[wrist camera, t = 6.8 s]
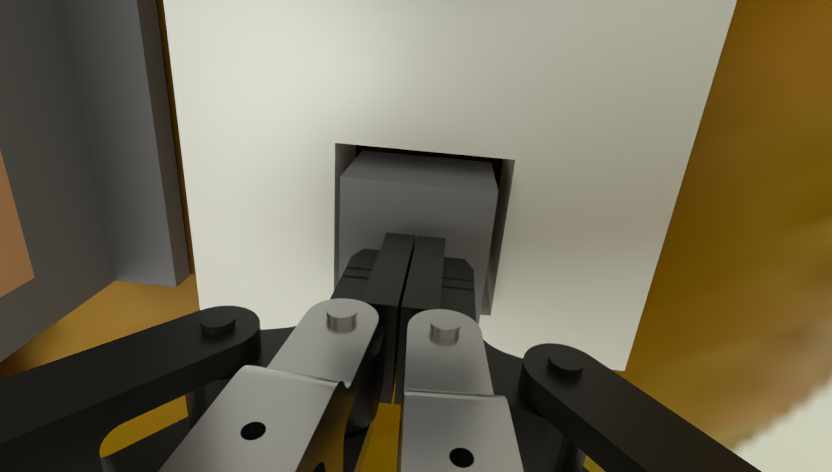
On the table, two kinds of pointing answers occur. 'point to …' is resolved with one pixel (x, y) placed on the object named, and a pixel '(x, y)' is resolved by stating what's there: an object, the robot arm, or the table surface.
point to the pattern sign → (83, 159)
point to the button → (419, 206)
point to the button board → (445, 143)
